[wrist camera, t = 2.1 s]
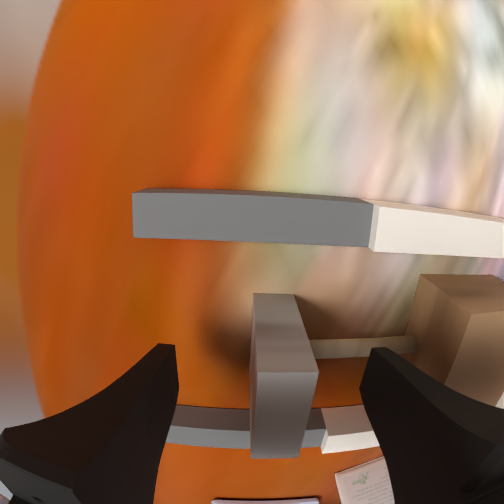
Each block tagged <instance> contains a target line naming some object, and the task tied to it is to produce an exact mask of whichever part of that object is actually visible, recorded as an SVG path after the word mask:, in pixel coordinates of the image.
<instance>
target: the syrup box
mask: <svg viewBox="0 0 504 504" xmlns="http://www.w3.org/2000/svg"><path fill="white" fill-rule="evenodd" d="M335 478H336V483H337V487H338V491H339V495H340V499H341V504H395V502H394V496H393V491H392V486H391V481H390V477H389V473H388V469H387V465H386V461H385V458H384V456H382V457H379V458H377V459H374V460H371V461H369V462H366V463H363V464H361V465H358V466H355V467H352V468H350V469H347V470H344V471H341V472H338V473H336V474H335Z"/></svg>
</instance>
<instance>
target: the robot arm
mask: <svg viewBox="0 0 504 504" xmlns="http://www.w3.org/2000/svg"><path fill="white" fill-rule="evenodd" d="M359 389H360V393H361V397H362V401H363V405H364V409H365V411H366V414H367V416H368V419H369V421H370V424H371V426H372V428H373V431H374V433H375V436H376V438H377V440H378V443H379V445H380V448H381V450H382V452H383V455H384V458H385V461H386V465H387V469H388V473H389V477H390V481H391V486H392V491H393V496H394V502H395V504H504V409H502V408H498V407H495V406H491V405H488V404H485V403H483V402H480V401H477V400H474V399H472V398H470V397H467V396H465V395H463V394H461V393H459V392H457V391H455V390H453V389H451V388H449V387H447V386H445V385H444V384H442V383H440V382H439V381H437V380H435V379H434V378H432V377H431V376H429V375H427V374H426V373H424V372H423V371H421V370H420V369H418V368H417V367H416V366H414V365H413V364H411V363H410V362H408V361H407V360H405V359H404V358H403V357H401V356H400V355H398V354H397V353H395V352H394V351H392V350H390V349H389V348H387V347H374V348H371V351H370V355H369V358H368V362H367V365H366V369H365V372H364V375H363V378H362V382H361V385H360V388H359ZM178 391H179V382H178V373H177V363H176V352H175V345H171V344H160V343H158V344H157V345H156V346H155V347H154V348H153V349H151V350H150V351H149V352H148V353H147V354H146V355H145V356H144V357H143V358H142V359H141V360H140V361H138V362H137V363H136V364H135V365H134V366H133V367H132V368H130V369H129V370H128V371H127V372H126V373H125V374H123V375H122V376H121V377H120V378H118V379H117V380H116V381H114V382H113V383H112V384H111V385H109V386H108V387H106V388H105V389H104V390H102V391H101V392H99V393H97V394H96V395H94V396H93V397H91V398H89V399H87V400H86V401H84V402H82V403H80V404H78V405H76V406H74V407H72V408H70V409H68V410H65V411H63V412H61V413H59V414H56V415H53V416H51V417H48V418H45V419H42V420H39V421H36V422H32V423H28V424H24V425H19V426H15V427H10V428H5V429H4V430H3V432H2V433H1V435H0V480H1V482H2V483H3V484H4V485H5V486H6V487H7V488H8V489H9V490H10V492H11V493H12V494H13V497H12V498H11V500H10V501H9V500H8V499H7V498H6V497H4V496H3V495H1V494H0V504H153V500H154V493H155V485H156V479H157V473H158V467H159V463H160V459H161V455H162V452H163V448H164V445H165V442H166V439H167V435H168V432H169V429H170V426H171V423H172V419H173V416H174V413H175V409H176V403H177V397H178ZM211 504H319V500H318V499H317V498H308V499H295V500H275V501H235V500H213V501H211Z"/></svg>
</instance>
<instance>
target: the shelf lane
mask: <svg viewBox="0 0 504 504" xmlns="http://www.w3.org/2000/svg"><path fill="white" fill-rule="evenodd" d="M362 200H364V201H367V202H369V203H372V204H374V208H373V216H372V224H371V232H370V239H369V246H368V248H370V249H371V250H372V251H374V252H392V253H412V254H432V255H451V256H470V257H488V258H504V218H499V217H493V216H487V215H482V214H476V213H469V212H463V211H456V210H450V209H443V208H436V207H428V206H421V205H413V204H405V203H396V202H388V201H379V200H369V199H362ZM495 407H498V408H502V409H504V392H503V394H502V396H501V398H500V399H499V401H498V403H497V405H496V406H495ZM321 410H322V414H323V418H324V421H325V425H326V432H325V435H324V438H323V441H322V444H321V450H322V454H323V453H333V452H342V451H350V450H357V449H364V448H370V447H376V446H380V445H379V443H378V440H377V438H376V436H375V433H374V431H373V428H372V426H371V424H370V421H369V419H368V416H367V414H366V411H365V409H364V405H356V406H345V407H333V408H321Z"/></svg>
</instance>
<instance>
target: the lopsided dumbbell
mask: <svg viewBox="0 0 504 504" xmlns="http://www.w3.org/2000/svg"><path fill="white" fill-rule="evenodd" d="M374 347H387V348H389V349H390V350H392V351H394V352H395V353H397V354H398V355H400V356H401V357H403V358H404V359H405V360H407V361H408V362H410V363H411V364H413V365H414V366H416V367H417V368H418V369H420V370H421V371H423V372H424V373H426V374H427V375H429V376H431V377H432V378H434V379H435V380H437V381H439V382H440V383H442V384H444V385H445V386H447V387H449V388H451V389H453V390H455V391H457V392H459V393H461V394H463V395H465V396H467V397H470V398H472V399H474V400H477V401H480V402H483V403H485V404H488V405H491V406H496V405H497V403H498V401H499V399H500V398H501V396H502V394H503V392H504V282H503V281H501V280H499V279H498V278H496V277H494V276H493V275H443V274H420V277H419V282H418V286H417V290H416V295H415V299H414V303H413V306H412V310H411V314H410V318H409V321H408V325H407V328H406V332H405V335H404V336H394V337H377V338H355V339H317V340H309V339H308V336H307V333H306V330H305V327H304V324H303V321H302V318H301V315H300V312H299V309H298V306H297V303H296V300H295V297H294V295H293V294H263V293H253V310H252V327H251V345H250V362H249V400H250V445H251V458H253V459H265V458H297V457H298V456H299V452H300V448H301V445H302V441H303V437H304V434H305V430H306V426H307V422H308V418H309V414H310V410H311V406H312V401H313V397H314V393H315V388H316V384H317V379H318V375H319V370H318V367H317V364H316V361H315V359H326V358H350V357H367V356H369V355H370V351H371V348H374Z"/></svg>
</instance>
